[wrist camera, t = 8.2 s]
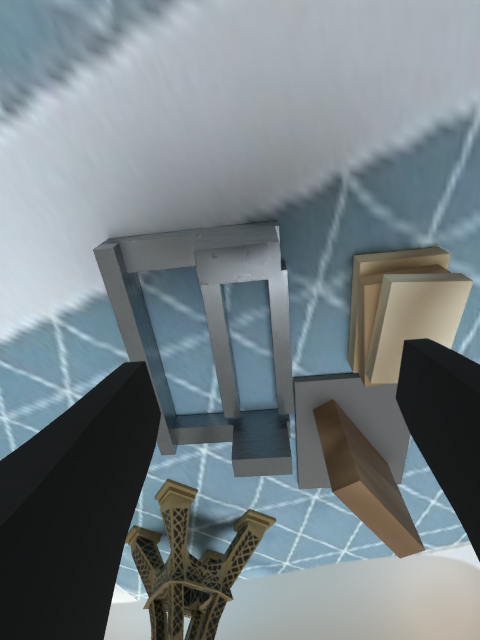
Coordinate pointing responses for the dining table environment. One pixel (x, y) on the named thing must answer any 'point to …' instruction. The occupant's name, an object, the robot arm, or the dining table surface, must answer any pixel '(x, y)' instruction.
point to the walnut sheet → (364, 480)
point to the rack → (213, 270)
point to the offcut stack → (401, 308)
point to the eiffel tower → (190, 568)
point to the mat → (364, 411)
